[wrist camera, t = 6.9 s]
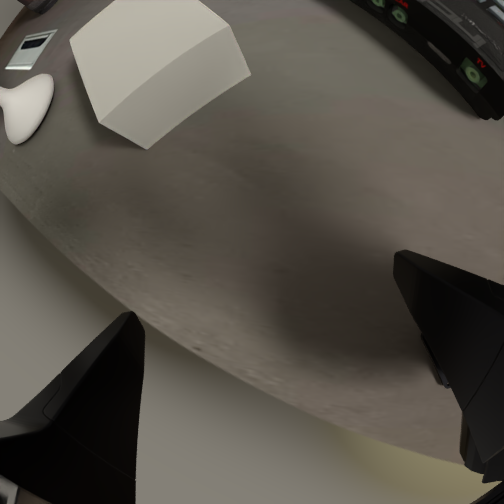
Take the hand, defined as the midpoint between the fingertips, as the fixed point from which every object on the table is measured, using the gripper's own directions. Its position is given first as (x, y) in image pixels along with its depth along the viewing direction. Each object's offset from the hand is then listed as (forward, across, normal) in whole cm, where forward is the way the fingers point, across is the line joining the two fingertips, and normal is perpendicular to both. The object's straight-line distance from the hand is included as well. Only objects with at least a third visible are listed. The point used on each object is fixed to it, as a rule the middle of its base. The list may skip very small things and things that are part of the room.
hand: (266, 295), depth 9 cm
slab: (+25, +5, -12) cm, 28 cm away
